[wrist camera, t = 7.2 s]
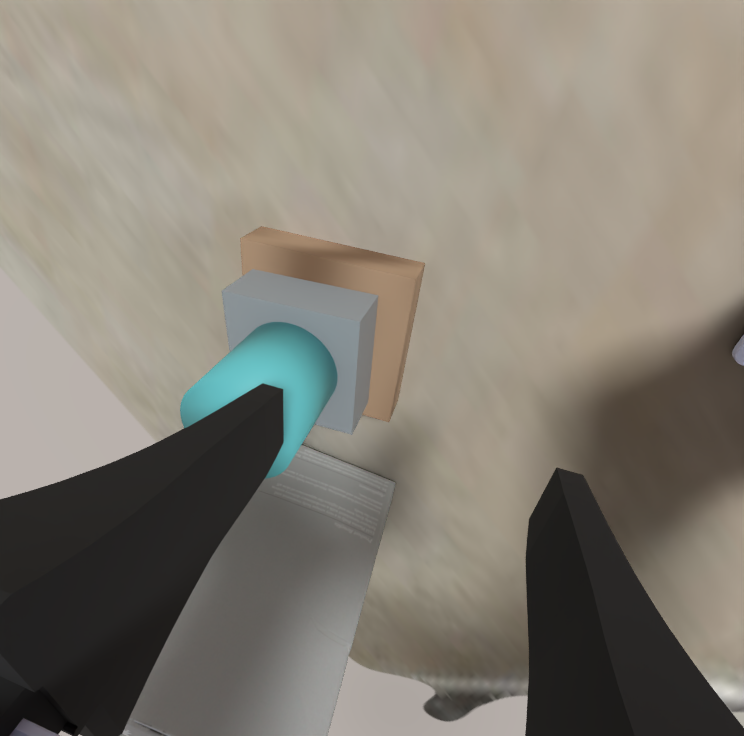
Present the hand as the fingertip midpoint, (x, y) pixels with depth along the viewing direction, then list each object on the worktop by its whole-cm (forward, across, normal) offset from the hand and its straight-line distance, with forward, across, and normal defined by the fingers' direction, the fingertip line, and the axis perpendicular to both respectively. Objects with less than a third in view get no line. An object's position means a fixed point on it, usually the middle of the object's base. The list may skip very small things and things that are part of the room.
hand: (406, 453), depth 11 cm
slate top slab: (+8, +6, +3) cm, 11 cm away
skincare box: (+11, +5, +16) cm, 19 cm away
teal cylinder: (+6, +6, +3) cm, 9 cm away
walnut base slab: (+11, +6, +3) cm, 13 cm away
